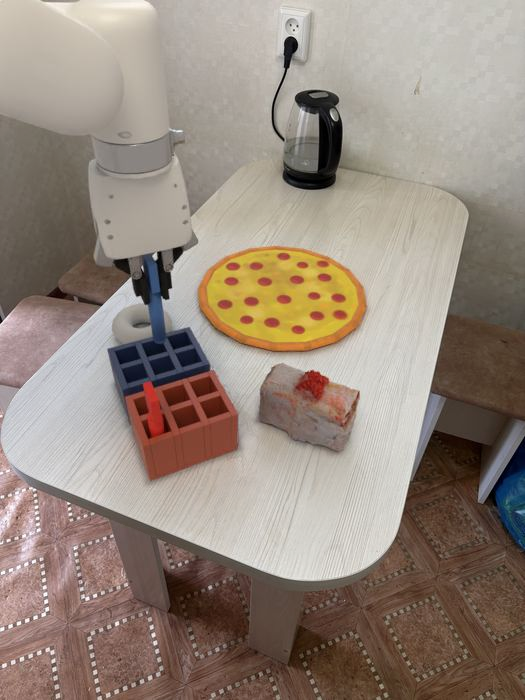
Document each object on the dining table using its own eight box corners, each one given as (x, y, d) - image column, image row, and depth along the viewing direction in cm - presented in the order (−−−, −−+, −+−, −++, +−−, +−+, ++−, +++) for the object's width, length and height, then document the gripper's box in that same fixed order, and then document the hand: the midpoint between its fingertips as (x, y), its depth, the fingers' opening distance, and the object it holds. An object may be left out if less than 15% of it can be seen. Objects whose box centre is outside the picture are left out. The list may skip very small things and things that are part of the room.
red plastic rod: (158, 469, 67) (146, 403, 58) (151, 450, 69) (139, 384, 60) (171, 464, 68) (162, 398, 58) (164, 446, 70) (154, 380, 60)
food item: (357, 422, 75) (369, 376, 68) (341, 463, 70) (353, 418, 63) (272, 392, 79) (276, 346, 72) (251, 429, 73) (253, 383, 67)
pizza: (249, 234, 112) (249, 230, 111) (388, 279, 102) (389, 274, 101) (163, 313, 91) (162, 308, 90) (326, 379, 81) (327, 374, 80)
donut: (134, 309, 92) (101, 342, 85) (131, 293, 90) (98, 326, 83) (182, 324, 90) (153, 359, 83) (181, 308, 87) (151, 343, 80)
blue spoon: (157, 351, 67) (144, 266, 58) (150, 336, 69) (137, 252, 60) (170, 347, 68) (160, 263, 58) (163, 333, 70) (152, 249, 60)
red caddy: (150, 481, 66) (142, 446, 61) (132, 432, 72) (124, 396, 67) (237, 449, 71) (238, 414, 65) (214, 405, 76) (213, 369, 71)
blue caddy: (130, 425, 73) (122, 389, 67) (115, 384, 78) (106, 348, 73) (211, 399, 77) (210, 363, 72) (192, 362, 83) (189, 326, 77)
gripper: (195, 125, 55) (202, 266, 68) (44, 145, 50) (83, 293, 63) (221, 152, 50) (224, 298, 63) (57, 177, 45) (96, 331, 58)
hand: (153, 295), depth 63 cm, fingers closed on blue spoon, 1 cm apart
